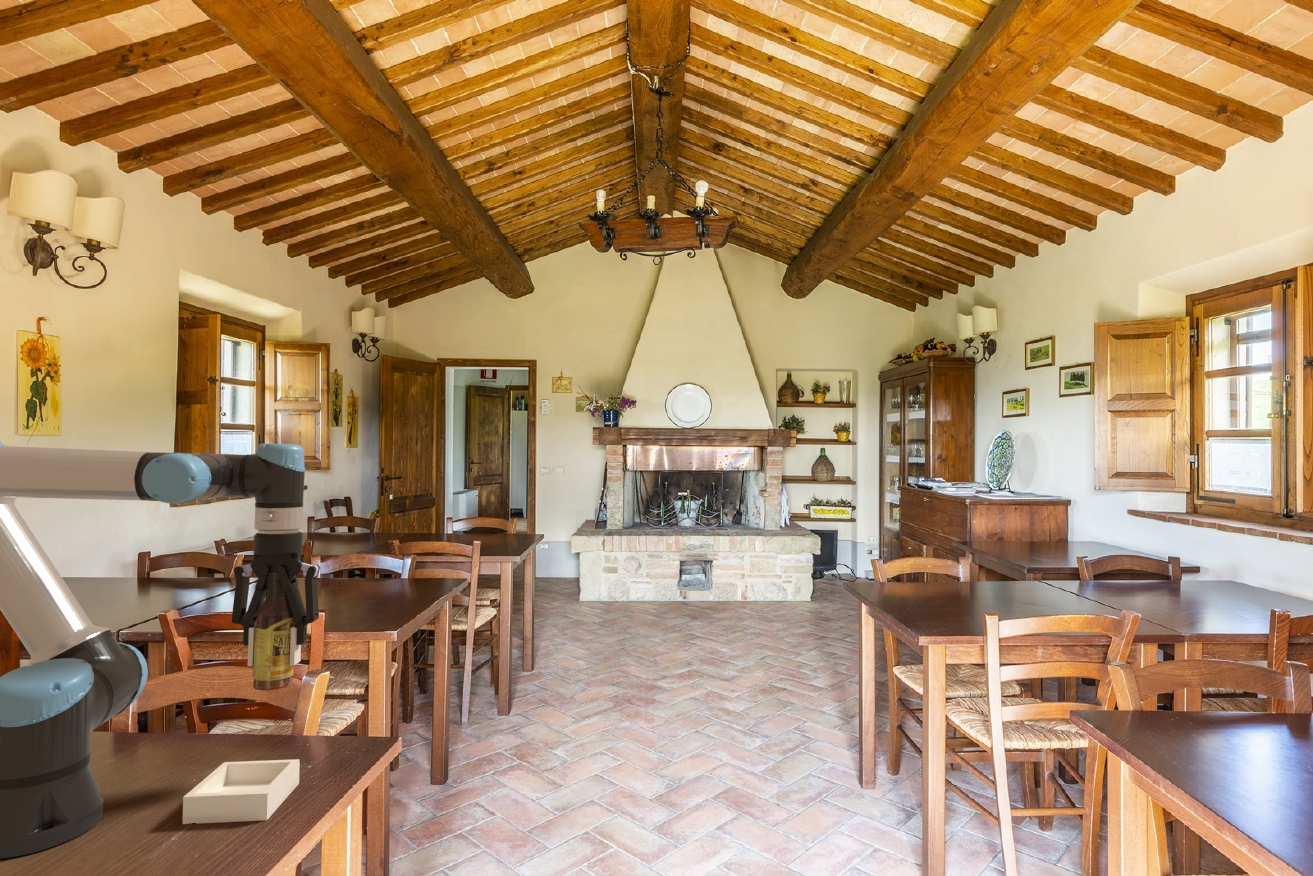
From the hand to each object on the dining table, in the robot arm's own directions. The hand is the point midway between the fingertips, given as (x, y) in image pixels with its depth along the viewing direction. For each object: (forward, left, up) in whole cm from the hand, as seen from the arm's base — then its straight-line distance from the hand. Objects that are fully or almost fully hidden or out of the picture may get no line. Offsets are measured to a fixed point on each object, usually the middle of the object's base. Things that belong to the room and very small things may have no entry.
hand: (274, 663), depth 121 cm
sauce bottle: (0, 0, -4) cm, 4 cm away
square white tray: (0, -10, -19) cm, 22 cm away
